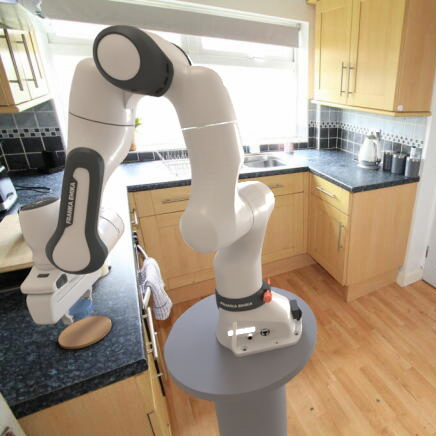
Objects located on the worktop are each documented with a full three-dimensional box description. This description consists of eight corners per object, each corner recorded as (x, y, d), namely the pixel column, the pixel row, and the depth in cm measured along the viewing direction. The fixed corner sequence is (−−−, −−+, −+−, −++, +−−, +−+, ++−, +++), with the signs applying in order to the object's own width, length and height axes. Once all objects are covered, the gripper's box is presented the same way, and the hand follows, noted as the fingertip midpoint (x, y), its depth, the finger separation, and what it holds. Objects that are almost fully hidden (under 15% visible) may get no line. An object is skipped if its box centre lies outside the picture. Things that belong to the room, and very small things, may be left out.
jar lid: (58, 316, 78) (55, 310, 77) (84, 301, 83) (81, 296, 82) (73, 323, 76) (71, 317, 75) (99, 307, 81) (97, 302, 80)
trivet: (119, 316, 87) (118, 314, 87) (97, 347, 77) (97, 345, 77) (76, 319, 86) (75, 316, 86) (48, 350, 76) (47, 348, 76)
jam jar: (112, 268, 109) (104, 241, 105) (103, 278, 104) (95, 250, 99) (94, 269, 108) (86, 242, 104) (85, 279, 103) (75, 250, 99)
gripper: (75, 244, 83) (89, 288, 88) (13, 292, 64) (36, 344, 70) (101, 243, 84) (113, 287, 89) (47, 291, 65) (67, 342, 71)
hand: (79, 312), depth 79 cm, fingers closed on jar lid, 6 cm apart
